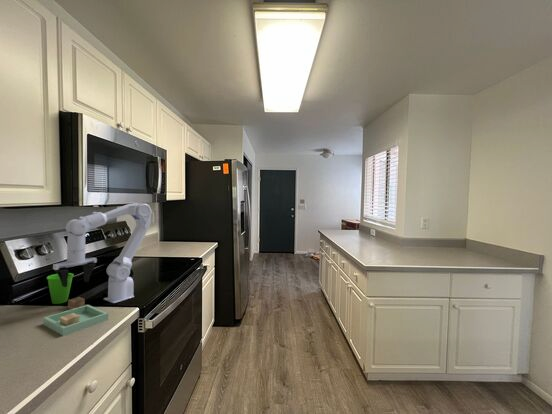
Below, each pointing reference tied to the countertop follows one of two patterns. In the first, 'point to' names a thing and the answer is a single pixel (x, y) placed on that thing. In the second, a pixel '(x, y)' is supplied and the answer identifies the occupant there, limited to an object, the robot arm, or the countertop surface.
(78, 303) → the walnut block
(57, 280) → the cup
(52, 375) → the countertop surface
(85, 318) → the tray
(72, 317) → the beech block in tray
